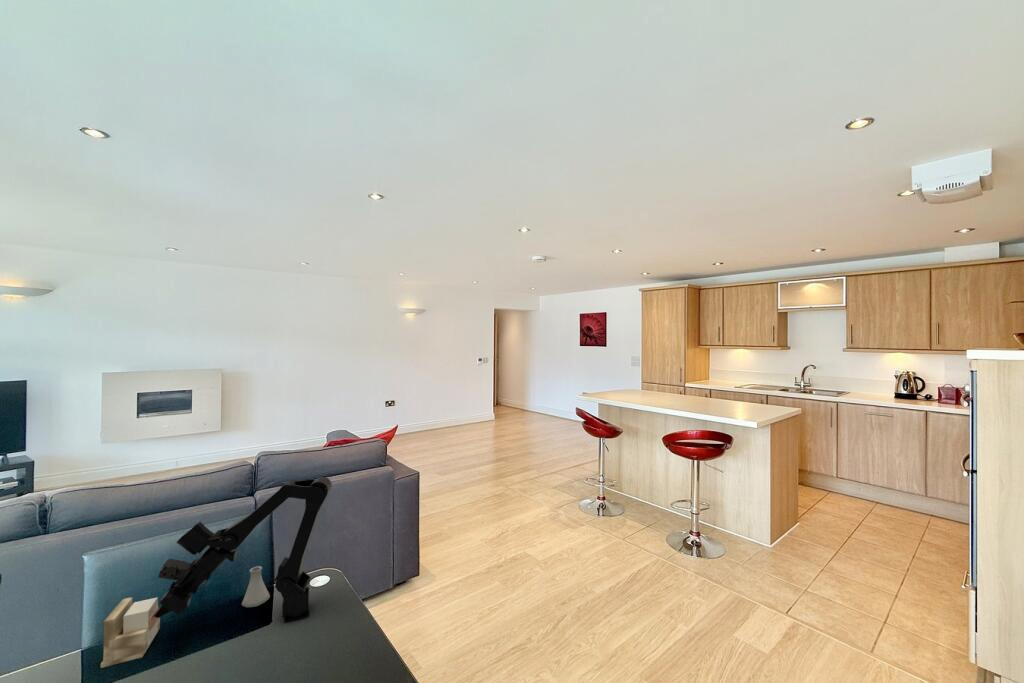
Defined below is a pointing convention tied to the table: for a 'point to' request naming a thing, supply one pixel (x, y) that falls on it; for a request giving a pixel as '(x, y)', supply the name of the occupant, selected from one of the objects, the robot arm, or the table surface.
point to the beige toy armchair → (122, 638)
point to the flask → (255, 589)
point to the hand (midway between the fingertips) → (156, 616)
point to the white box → (142, 618)
